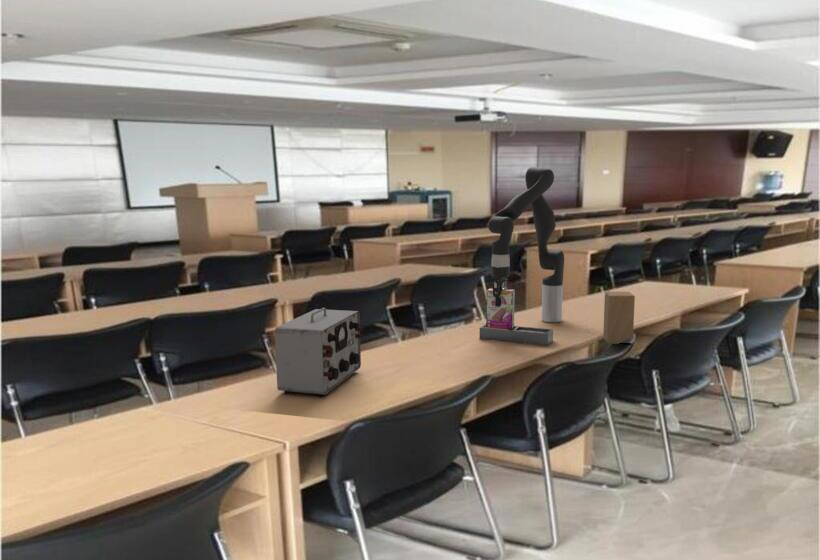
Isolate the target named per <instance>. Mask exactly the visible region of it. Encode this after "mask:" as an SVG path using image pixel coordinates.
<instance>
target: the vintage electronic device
mask: <svg viewBox="0 0 820 560" xmlns="http://www.w3.org/2000/svg"><path fill="white" fill-rule="evenodd" d="M360 316H361V315H360V311H358V310H344V309H343V310H339V309H327V308H325V307H322V308H320V309H319V308H315V309H313V310H311V311H309V312H306V313H304V314H302V315H300V316H298V317H296V318H294V319H292V320H289V321H287V322H285V323H282V324H280V325H279V326H276V327H275V329H274V343H275V344H274V347H275V365H276V366H275V367H276V368H275V369H276V389H277V391H282V392H284V394H286V395H288V394H289V395H290V394H292V393H303V394H315V395H317V397H318V398H319V397H320V398H324V397H325V396H326V395H327V394H328V393H330V392H331V391H333V390H334V389H335V388H336V387H337V386H339V385H340V384H341V383H343V382H344V381H345V380H347V379H348V378H349V377H351V376H352V375H354V374H355V373H356V372H357V371H358V370H359V369H361V366H362V358H361V357H362V355H361V354H362V353H361V352H362V351H361V339H363V338H364V334H362V333H361V332H363V331H364V327H361V319H360V318H361V317H360Z"/></svg>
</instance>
